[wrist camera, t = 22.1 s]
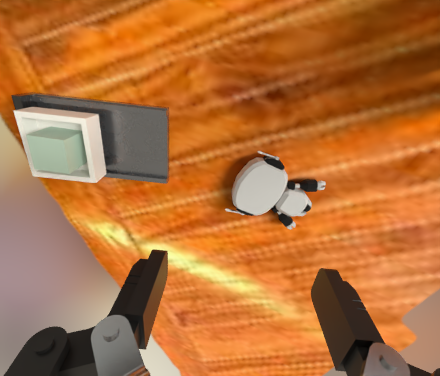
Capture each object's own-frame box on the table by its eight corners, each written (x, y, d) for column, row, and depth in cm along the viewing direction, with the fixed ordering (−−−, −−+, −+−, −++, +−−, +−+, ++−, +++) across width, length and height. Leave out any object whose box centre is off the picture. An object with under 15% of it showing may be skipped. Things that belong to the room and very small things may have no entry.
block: (51, 126, 36) (25, 134, 31) (84, 131, 36) (63, 140, 32) (57, 157, 38) (34, 169, 34) (88, 161, 38) (69, 174, 34)
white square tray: (41, 104, 37) (13, 110, 32) (104, 111, 37) (85, 118, 33) (55, 163, 42) (32, 176, 37) (111, 169, 42) (96, 183, 37)
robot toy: (323, 174, 43) (252, 141, 40) (335, 185, 39) (256, 150, 36) (287, 223, 48) (221, 198, 45) (294, 238, 44) (222, 211, 41)
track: (32, 92, 38) (11, 95, 34) (168, 107, 38) (162, 112, 34) (51, 167, 44) (35, 176, 40) (168, 180, 44) (163, 190, 40)
